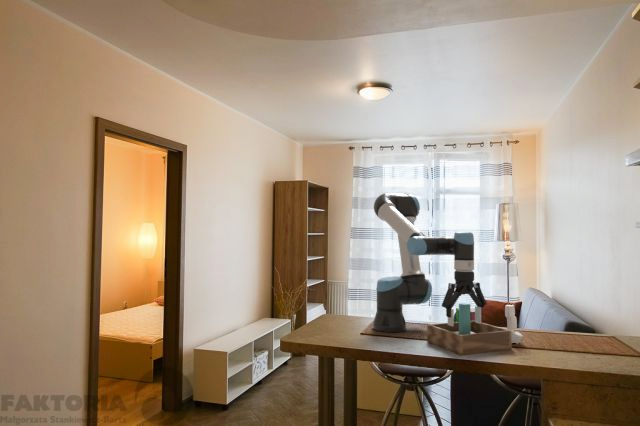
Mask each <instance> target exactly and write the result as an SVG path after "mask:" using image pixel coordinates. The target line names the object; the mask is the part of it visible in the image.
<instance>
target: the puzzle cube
mask: <svg viewBox="0 0 640 426" xmlns="http://www.w3.org/2000/svg"><path fill="white" fill-rule="evenodd" d="M470 321H475V307H474V308H472V307H470ZM455 322H459V307H456V308H455ZM481 323H483V314H482V315H481Z"/></svg>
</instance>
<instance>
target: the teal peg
mask: <svg viewBox="0 0 640 426" xmlns="http://www.w3.org/2000/svg"><path fill="white" fill-rule="evenodd" d="M458 308H459V334H460V335H465V334H471V326H470V308H471V304H470V303H465V302H464V303H463V302H462V303H461V302H460V303H458Z"/></svg>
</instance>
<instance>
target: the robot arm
mask: <svg viewBox="0 0 640 426" xmlns="http://www.w3.org/2000/svg"><path fill="white" fill-rule="evenodd" d="M373 203H374V204H373V211H374V213H375V216H376V217H378V219H380V220H381V221H383V222H386V223H387V225H388V226H389V227H391V228H392V229H393V230H394V232H395V233H397V239H398V248H399V254H400V260H401V261H400V262H401V270H402V273H401V275H400V276H395V275H394V276H386V277H382V278H379V279H378V280H377V282H376V288H375V289H376V313H375V315H374V318H373V322H372V329H373V330H375V331H379V332H384V333H385V332H386V333H401V332H404V331H407V323H406V319H405V317H404V313H403V305H407V306H409V305H420V304H426V303H427V302H428V301H429V300H430V298H432V293H433V285H432V283H431V282H430V279H428V278H426V276H425V275H426V274H425V273H424V272H423V271H422V269H421V263H420V256H430V255H431V256H434V255H436V256H437V255H438V256H441V255H442V256H445V255H450V256H454V257H453V258H454V259H453V261H454V262H453V263H454V265H453V266H454V267H453V269H454V281H455V283H453V282H452V283H451V282H449V283H448V286H447V291H446V293H445V295H444V299H443V300H442V304H441V307H442V308H445V316H446V317H447V323H448V325H450V326H454V322H455V321H454V320H455V318H454V317H455V316H454V313H455V312H454V308H453V307H454V305H455V304H456V303H457V301H458V299H459V298H460V297H461V296H462V295H468V296H469V297H470V298H471V300H472V301H473V302H474V303H475V305H476V306H474V308H475V323H479V324H481V315H482V316H483V308H484V307H485V306H486V305H487V304H488V303H487V301H486V298H485V296H484V293H483V292H482V289H481V283H480V282H478V281H477V282H476V281H475V271H474V270H475V237H474V233H473V232H471V231H470V232H469V231H467V232H464V231H463V232H462V231H456V232H454V235H453V236H426V235H425V234H424V233H423V232H422V231H421V230H419V229H418V228H417V227H416V226H415V222H416V220H417V216H419V214H420V209H421V205H420V202H419V199H418V198H417V197H416V196H415V195H413V194H409V193H393V192H392V193H391V192H385V193H382V194H380V195H379V196H378V197H377V198H376V199H375V200H374V202H373Z"/></svg>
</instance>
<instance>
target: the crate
mask: <svg viewBox="0 0 640 426" xmlns="http://www.w3.org/2000/svg"><path fill="white" fill-rule="evenodd" d="M470 326H471V334H465V335H460V334H459V322H456V321H454V326H450V325H448V322H442V323H432V324H429V323H428V324H427V325H426V328H427V330H426V332H427V333H426V334H427V335H426V336H427V337H426V338H427V340H426V341H427V343H429V344H431V345H434V346H437V347H439V348H441V349H443V350H446V351H448V350H449V352H451V353H453V352H454V354H456V355H458V354H459V356H467V355H474V354H475V355H477V354H483V353H492V352H493V353H494V352H499V351H500V352H501V351H509V350H512V349H513V348H512V344H511V330H507V328H503V327H499V326H496V325H492V324H489V323H485V322H482V323H481V324H479V323H475V321H470Z"/></svg>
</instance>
